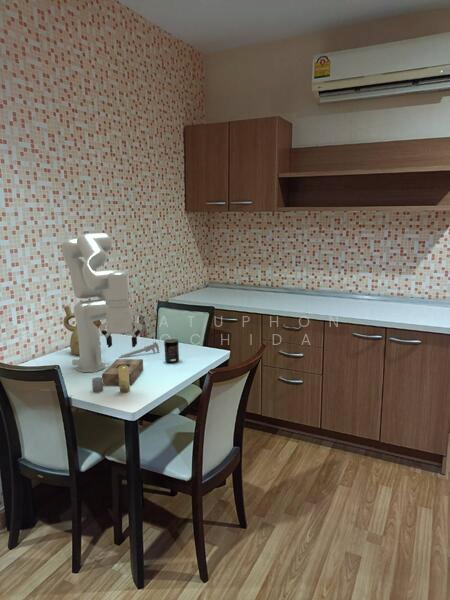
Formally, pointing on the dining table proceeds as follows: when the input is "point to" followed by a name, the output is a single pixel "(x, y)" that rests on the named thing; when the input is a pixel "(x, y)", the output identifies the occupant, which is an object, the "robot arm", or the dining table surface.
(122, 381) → the long pin
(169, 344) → the supplement container
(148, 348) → the caliper
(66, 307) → the ceramic vessel
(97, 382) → the short pin
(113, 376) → the hole block
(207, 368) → the dining table surface
